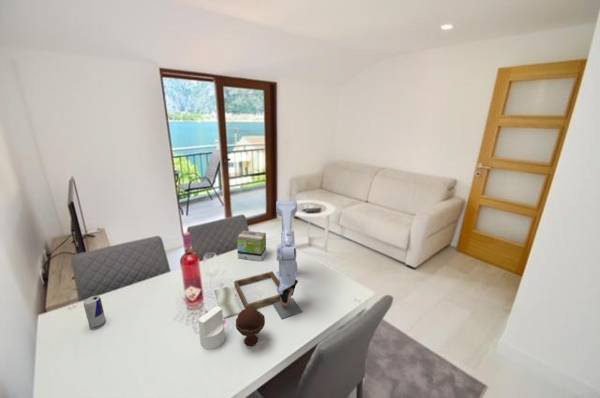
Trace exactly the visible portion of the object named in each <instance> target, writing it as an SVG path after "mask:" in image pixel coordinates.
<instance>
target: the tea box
mask: <svg viewBox="0 0 600 398" xmlns="http://www.w3.org/2000/svg"><path fill="white" fill-rule="evenodd" d="M236 245H237V246H236V247H237V249H236V250H237V258H238V259H242V260H250V261H257V262H262V261H263V259H264V258H265V256H266V254H267V232H261V231H253V230H242V231H241V232H240V233H239V234H238V236H237V237H236Z"/></svg>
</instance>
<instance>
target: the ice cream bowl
mask: <svg viewBox="0 0 600 398" xmlns="http://www.w3.org/2000/svg"><path fill="white" fill-rule="evenodd" d="M241 310H242V311H241V312H240V313H239V314H238V315H237V318H235V328H236V330H237V331H238V332H239V333H240V334H241V335H242V336H243V337H245V338H244V339H243V344H244V345H245V346H246V347H250V348H251V347H254V346H256V345H257V344H258V342H259V336H257V335H259V334H260V332H261V331H262V330H263V328H265V324H266V319H265V315H264V314H263V313H261V311H259V310H258V309H253V308H251V309H250V308H247V309H245V308H244V309H241Z"/></svg>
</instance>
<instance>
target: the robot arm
mask: <svg viewBox="0 0 600 398" xmlns="http://www.w3.org/2000/svg"><path fill="white" fill-rule="evenodd" d="M275 203H276V204H275V205H276V206H275V207H276V210H275V211H276V214H277V215H278V216H279V217H281V234H280V236H281V237H280V241H281V242H280V244H278V245H277V246H276V261H277V262H278V271H276V272H275V273H276V274H275V275H277V277H278V278H279V279H278V280H279V281H280V285H279V287H276V291H277V295H279V294H280V296H281V299H282V302H283V303H287V301H288V295H289V293H290V291H289V290H287V288H289V287H290V286H291V287H292V288H293V293H292V294H291V297H292V296H294V293H295V292H294V291H295V288H296V286H297V284H298V283H299V279H296V278H297V277H298V262H297V246H296V242H295V232H294V231H293V230H292V221H293V220H292V219H293V217H294V216H296V213H297V212H298V202H297V200H277V201H276V202H275Z"/></svg>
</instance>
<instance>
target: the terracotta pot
mask: <svg viewBox="0 0 600 398" xmlns="http://www.w3.org/2000/svg"><path fill="white" fill-rule="evenodd" d="M287 290H289V291H290V293H289V295H288V301H287V303H283V302H282V299H281V297H280V304H282V305H284V306H287V305H289V304H290V299H291V298H292V296H291V294H292V293H293V288H292V287H291V286H290V287H289V288H287ZM293 294H294V293H293Z"/></svg>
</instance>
